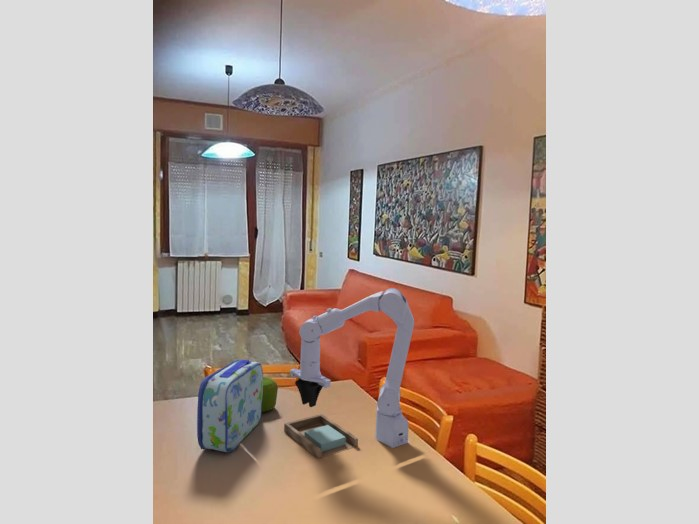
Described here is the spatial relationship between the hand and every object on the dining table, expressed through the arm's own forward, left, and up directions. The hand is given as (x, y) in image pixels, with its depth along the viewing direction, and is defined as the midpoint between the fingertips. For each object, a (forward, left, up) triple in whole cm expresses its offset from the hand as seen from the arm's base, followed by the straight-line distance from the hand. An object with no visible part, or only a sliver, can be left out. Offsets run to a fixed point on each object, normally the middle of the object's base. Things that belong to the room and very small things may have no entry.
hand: (309, 404), depth 139 cm
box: (-6, 0, -8) cm, 11 cm away
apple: (+23, +5, -9) cm, 25 cm away
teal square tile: (-9, 0, -8) cm, 12 cm away
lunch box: (+10, +20, -9) cm, 24 cm away
